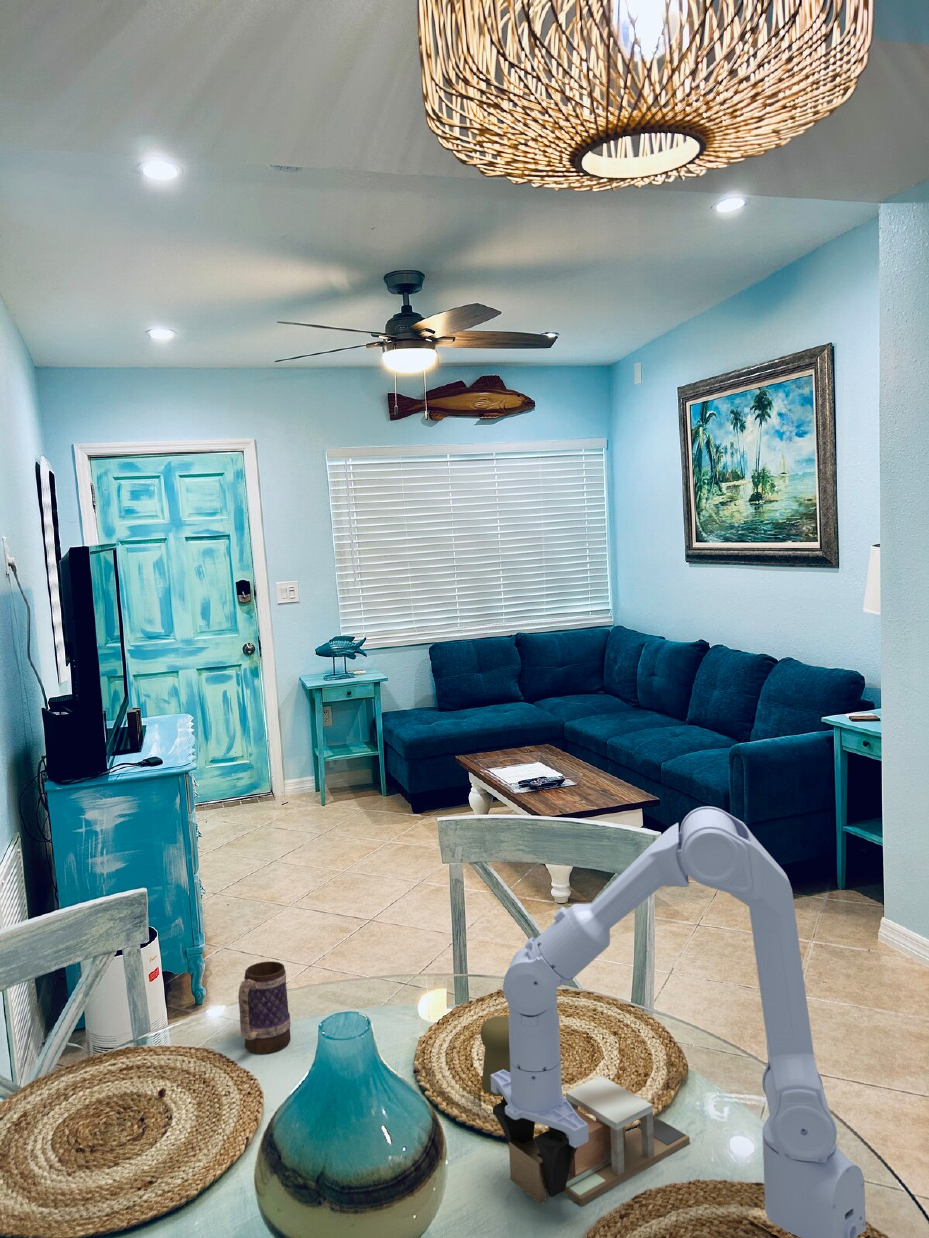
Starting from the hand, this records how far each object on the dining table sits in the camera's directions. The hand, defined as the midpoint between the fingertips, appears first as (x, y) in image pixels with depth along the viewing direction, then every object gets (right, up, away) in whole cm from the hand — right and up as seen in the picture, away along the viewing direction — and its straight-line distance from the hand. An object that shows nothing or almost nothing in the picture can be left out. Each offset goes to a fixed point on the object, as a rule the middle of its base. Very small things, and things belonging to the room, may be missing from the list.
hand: (539, 1178), depth 100 cm
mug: (-39, -3, +36) cm, 53 cm away
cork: (-3, -2, +19) cm, 19 cm away
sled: (+4, 0, +3) cm, 5 cm away
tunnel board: (+9, -1, +7) cm, 11 cm away
